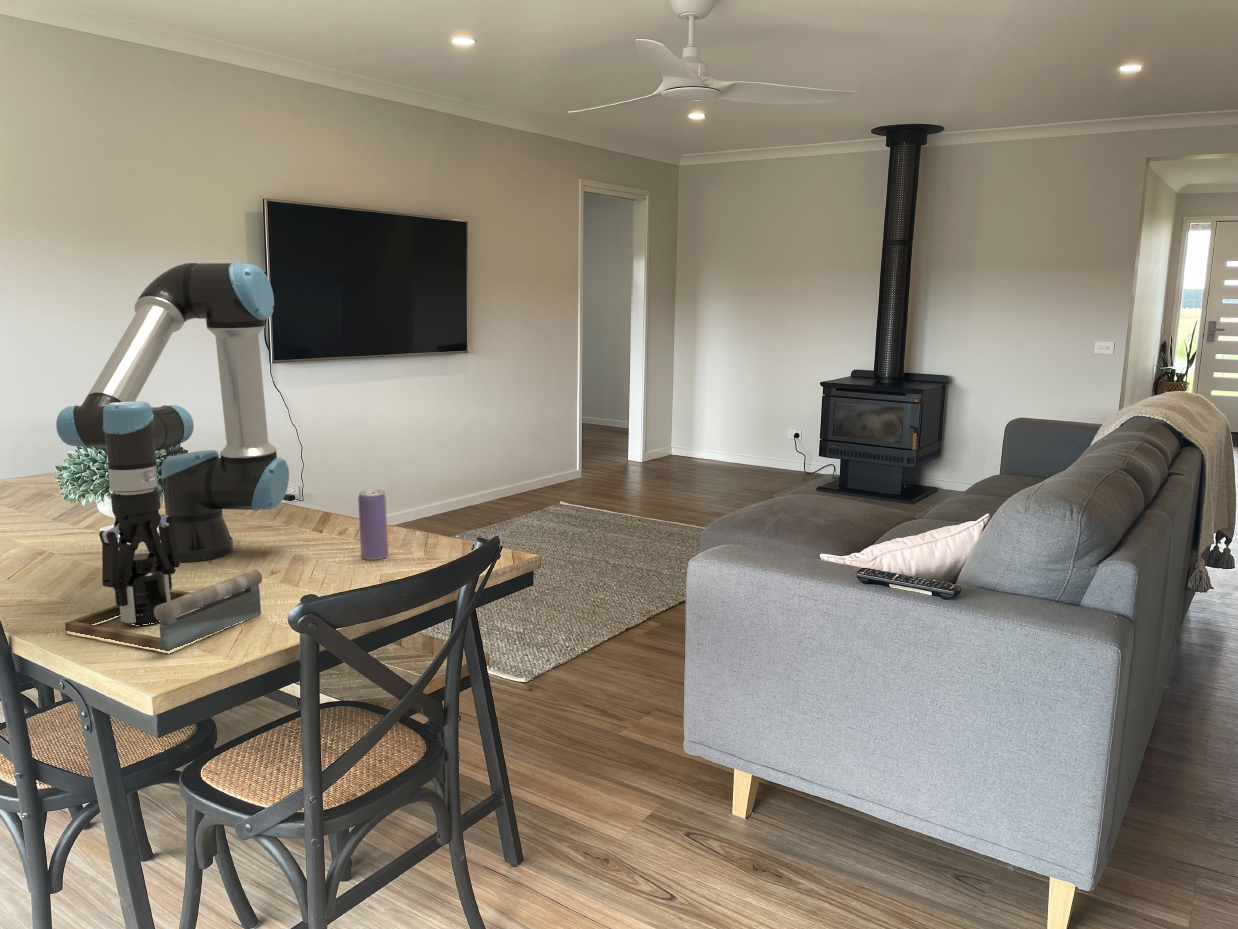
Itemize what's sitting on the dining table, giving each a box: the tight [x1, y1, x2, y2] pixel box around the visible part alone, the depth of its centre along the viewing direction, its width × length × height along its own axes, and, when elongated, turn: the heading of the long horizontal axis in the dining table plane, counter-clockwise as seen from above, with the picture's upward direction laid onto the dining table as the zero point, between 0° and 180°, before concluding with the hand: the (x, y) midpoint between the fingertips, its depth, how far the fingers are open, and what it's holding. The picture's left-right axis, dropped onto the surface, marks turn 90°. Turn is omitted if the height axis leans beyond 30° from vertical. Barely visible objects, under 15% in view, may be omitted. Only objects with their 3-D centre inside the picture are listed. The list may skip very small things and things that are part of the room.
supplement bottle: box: [128, 552, 167, 625], centre depth 158 cm, size 7×7×12 cm
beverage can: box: [357, 489, 389, 561], centre depth 198 cm, size 6×6×15 cm
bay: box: [64, 569, 263, 651], centre depth 156 cm, size 24×21×8 cm
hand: (146, 614), depth 159 cm, fingers closed on supplement bottle, 7 cm apart
